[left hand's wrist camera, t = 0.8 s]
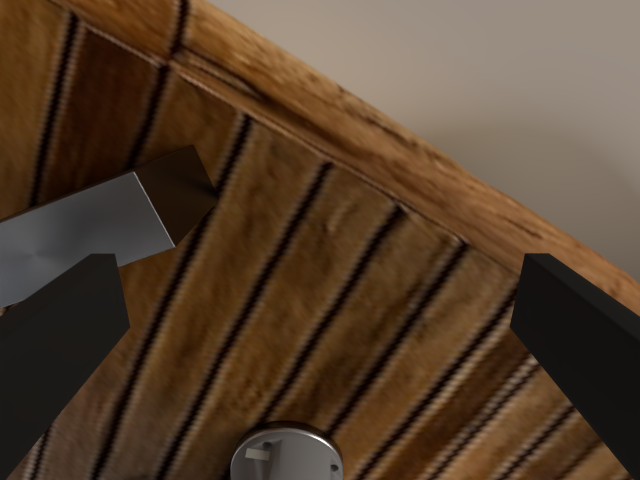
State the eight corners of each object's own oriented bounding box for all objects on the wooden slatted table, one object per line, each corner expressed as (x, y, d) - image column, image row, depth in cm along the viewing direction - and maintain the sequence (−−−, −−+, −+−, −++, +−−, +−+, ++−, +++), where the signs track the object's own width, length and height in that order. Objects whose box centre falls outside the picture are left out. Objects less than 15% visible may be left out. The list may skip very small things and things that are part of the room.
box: (193, 144, 37) (133, 170, 26) (219, 199, 39) (175, 247, 28) (21, 210, 40) (-105, 262, 28) (54, 259, 42) (-51, 326, 30)
